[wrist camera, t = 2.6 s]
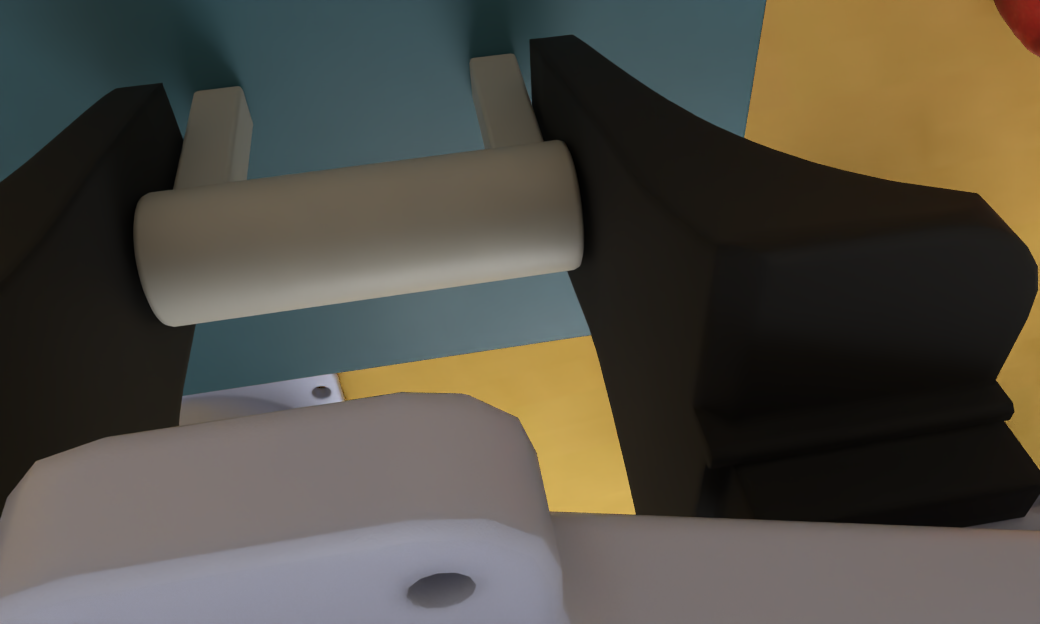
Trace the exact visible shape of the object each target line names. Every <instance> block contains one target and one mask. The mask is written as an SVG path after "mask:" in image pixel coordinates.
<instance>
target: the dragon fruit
mask: <svg viewBox="0 0 1040 624" xmlns="http://www.w3.org/2000/svg"><path fill="white" fill-rule="evenodd" d="M994 2H995V5H996V7H997V9H998V11H999V13H1000V15H1001V16H1002V18H1003V19H1004V20H1005V22H1006V23H1007V25H1008V26H1009V27H1010V29H1011V30H1012V32H1013V33H1014V35H1015V36H1016V37H1017V38H1018V39H1019V40H1020V41H1021V42H1022V44H1023V45H1024V46H1025V47H1026V48H1027V49H1028V50H1029V51H1031V52H1032V53H1033V54H1035V55H1037V56H1039V57H1040V0H994Z"/></svg>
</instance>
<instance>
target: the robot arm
mask: <svg viewBox="0 0 1040 624" xmlns="http://www.w3.org/2000/svg"><path fill="white" fill-rule="evenodd" d="M529 44H530V69H531V95H532V107H533V110H534V113H535V116H536V119H537V122H538V125H539V128H540V131H541V134H542V137H543V140H544V142H545V141H552V140H560V141H563V142H565V144H566V145H567V147H568V149H569V151H570V153H571V156H572V159H573V162H574V165H575V169H576V173H577V178H578V183H579V188H580V195H581V202H582V210H583V222H584V252H583V258H582V262H581V265H580V266H579V267H578V268H576V269H575V270H569V271H567V273H568V275H569V278H570V280H571V283H572V286H573V288H574V291H575V293H576V296H577V299H578V301H579V304H580V306H581V309H582V311H583V314H584V317H585V319H586V322H587V324H588V327H589V330H590V333H591V336H592V339H593V342H594V345H595V348H596V351H597V355H598V358H599V362H600V366H601V370H602V374H603V378H604V382H605V386H606V390H607V393H608V397H609V401H610V405H611V409H612V413H613V418H614V422H615V426H616V430H617V434H618V438H619V442H620V447H621V451H622V455H623V459H624V463H625V467H626V472H627V476H628V481H629V485H630V490H631V494H632V498H633V503H634V507H635V512H636V515H626V514H601V513H575V512H549V508H548V503H547V499H546V494H545V490H544V485H543V480H542V476H541V471H540V467H539V462H538V457H537V453H536V451H535V449H534V447H533V445H532V443H531V442H530V440H529V438H528V436H527V434H526V432H525V430H524V428H523V426H522V424H521V423H520V421H519V419H518V418H517V417H515V416H513V415H511V414H508V413H506V412H504V411H502V410H500V409H498V408H495V407H493V406H491V405H489V404H487V403H484V402H482V401H480V400H478V399H476V398H474V397H471V396H469V395H466V394H456V393H411V392H400V393H394V394H387V395H380V396H374V397H367V398H361V399H354V400H347V401H345V399H344V395H343V392H342V389H341V385H340V382H339V378H338V375H337V373H334V374H327V375H320V376H314V377H307V378H300V379H293V380H287V381H280V382H273V383H267V384H260V385H253V386H247V387H240V388H233V389H227V390H220V391H213V392H206V393H200V394H193V395H186V396H183V388H184V383H185V378H186V373H187V368H188V362H189V357H190V352H191V347H192V342H193V337H194V331H195V326H196V324H191V325H184V326H177V327H173V326H168V325H165V324H163V323H162V322H161V321H160V320H159V319H158V318H157V317H156V315H155V314H154V312H153V311H152V309H151V307H150V305H149V303H148V300H147V298H146V296H145V293H144V291H143V288H142V285H141V282H140V278H139V274H138V270H137V265H136V259H135V252H134V242H133V225H134V214H135V210H136V206H137V203H138V201H139V200H140V198H141V197H143V196H144V195H146V194H148V193H150V192H158V191H165V190H173V187H174V182H175V177H176V173H177V168H178V164H179V159H180V155H181V150H182V146H183V141H184V140H183V137H182V134H181V132H180V129H179V126H178V123H177V121H176V118H175V115H174V113H173V110H172V107H171V105H170V102H169V99H168V97H167V94H166V91H165V89H164V86H163V83H156V84H148V85H139V86H131V87H122V88H116V89H114V90H112V91H111V92H109V93H108V94H106V95H105V96H103V97H102V98H101V99H99V100H98V101H97V102H96V103H94V104H93V105H92V106H91V107H90V108H88V109H87V110H86V111H85V112H84V113H83V114H81V115H80V116H79V117H78V118H77V119H76V120H74V121H73V122H72V123H71V124H70V125H69V126H68V127H66V128H65V129H64V130H63V131H62V132H61V133H59V134H58V135H57V136H56V137H55V138H54V139H52V140H51V141H50V142H49V143H48V144H47V145H45V146H44V147H43V148H42V149H41V150H40V151H39V152H37V153H36V154H35V155H34V156H33V157H32V158H30V159H29V160H28V161H27V162H26V163H24V164H23V165H22V166H21V167H19V168H18V169H17V170H15V171H14V172H13V173H12V174H10V175H9V176H8V177H6V178H5V179H4V180H3V181H1V182H0V624H1040V470H1039V468H1038V467H1037V466H1036V464H1035V463H1034V462H1033V460H1032V459H1031V457H1030V456H1029V455H1028V453H1027V452H1026V451H1025V449H1024V448H1023V446H1022V445H1021V444H1020V442H1019V441H1018V440H1017V438H1016V437H1015V435H1014V434H1013V433H1012V431H1011V430H1010V429H1009V427H1008V426H1007V424H1006V423H1005V422H1004V421H1006V420H1010V419H1011V417H1012V415H1013V413H1014V407H1013V402H1012V401H1011V400H1010V398H1009V397H1008V396H1007V394H1006V393H1005V392H1004V390H1003V389H1002V388H1001V386H1000V385H999V384H998V382H997V381H996V378H997V376H998V374H999V372H1000V370H1001V368H1002V366H1003V364H1004V363H1005V361H1006V359H1007V357H1008V355H1009V353H1010V351H1011V349H1012V347H1013V345H1014V343H1015V341H1016V340H1017V338H1018V336H1019V334H1020V332H1021V330H1022V328H1023V326H1024V324H1025V322H1026V320H1027V318H1028V316H1029V313H1030V310H1031V308H1032V305H1033V302H1034V299H1035V296H1036V294H1037V291H1038V266H1037V264H1036V262H1035V260H1034V258H1033V256H1032V254H1031V252H1030V251H1029V249H1028V247H1027V246H1026V245H1025V243H1024V242H1023V241H1022V240H1021V239H1020V238H1019V237H1018V236H1017V235H1016V234H1015V233H1014V232H1013V231H1012V229H1011V228H1010V227H1009V226H1008V225H1007V224H1006V223H1005V222H1004V221H1003V220H1002V219H1001V218H1000V217H999V215H998V214H997V213H996V212H995V211H994V210H993V209H992V208H991V207H990V206H989V205H988V204H987V202H986V201H985V200H984V199H983V198H982V197H981V196H980V195H979V194H977V193H972V192H965V191H958V190H951V189H943V188H936V187H929V186H922V185H915V184H908V183H901V182H895V181H890V180H885V179H880V178H876V177H871V176H866V175H862V174H857V173H853V172H848V171H844V170H840V169H836V168H832V167H829V166H825V165H821V164H817V163H814V162H810V161H807V160H804V159H801V158H798V157H795V156H792V155H789V154H786V153H783V152H780V151H777V150H774V149H771V148H768V147H766V146H763V145H760V144H758V143H755V142H752V141H750V140H748V139H745V138H743V137H741V136H738V135H736V134H734V133H732V132H729V131H727V130H725V129H723V128H720V127H718V126H716V125H714V124H712V123H710V122H708V121H706V120H704V119H702V118H700V117H698V116H696V115H694V114H693V113H691V112H689V111H687V110H685V109H684V108H682V107H680V106H678V105H677V104H675V103H673V102H671V101H670V100H668V99H666V98H665V97H663V96H661V95H660V94H658V93H657V92H655V91H653V90H652V89H650V88H649V87H647V86H646V85H644V84H643V83H641V82H640V81H638V80H637V79H635V78H634V77H632V76H631V75H629V74H628V73H627V72H625V71H624V70H622V69H621V68H620V67H618V66H617V65H615V64H614V63H613V62H611V61H610V60H608V59H607V58H606V57H604V56H603V55H602V54H600V53H599V52H597V51H596V50H595V49H593V48H592V47H591V46H589V45H588V44H586V43H585V42H584V41H582V40H581V39H579V38H578V37H576V36H574V35H573V34H571V35H563V36H554V37H546V38H537V39H529ZM319 386H325V388H317V387H319Z"/></svg>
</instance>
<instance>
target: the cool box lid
mask: <svg viewBox="0 0 1040 624" xmlns="http://www.w3.org/2000/svg"><path fill="white" fill-rule="evenodd" d="M765 5H766V0H0V182H1V181H3V180H4V179H5V178H6V177H8V176H9V175H10V174H12V173H13V172H14V171H15V170H17V169H18V168H19V167H21V166H22V165H23V164H24V163H26V162H27V161H28V160H29V159H30V158H32V157H33V156H34V155H35V154H36V153H37V152H39V151H40V150H41V149H42V148H43V147H44V146H45V145H47V144H48V143H49V142H50V141H51V140H52V139H54V138H55V137H56V136H57V135H58V134H59V133H61V132H62V131H63V130H64V129H65V128H66V127H68V126H69V125H70V124H71V123H72V122H73V121H74V120H76V119H77V118H78V117H79V116H80V115H81V114H83V113H84V112H85V111H86V110H87V109H88V108H90V107H91V106H92V105H93V104H94V103H96V102H97V101H98V100H99V99H101V98H102V97H103V96H105V95H106V94H108V93H109V92H111V91H112V90H114V89H116V88H122V87H131V86H139V85H148V84H156V83H163V86H164V89H165V91H166V94H167V97H168V99H169V102H170V105H171V107H172V110H173V113H174V115H175V118H176V121H177V123H178V126H179V129H180V132H181V134H182V137H183V140H184V141H183V146H182V150H181V155H180V159H179V164H178V168H177V173H176V177H175V182H174V187H173V190H165V191H158V192H150V193H148V194H146V195H144V196H143V197H141V198H140V200H139V201H138V203H137V206H136V210H135V214H134V225H133V242H134V252H135V259H136V265H137V270H138V274H139V278H140V282H141V285H142V288H143V291H144V293H145V296H146V298H147V300H148V303H149V305H150V307H151V309H152V311H153V312H154V314H155V315H156V317H157V318H158V319H159V320H160V321H161V322H162V323H163V324H165V325H168V326H173V327H177V326H184V325H191V324H196V326H195V331H194V337H193V342H192V347H191V352H190V357H189V362H188V368H187V373H186V378H185V383H184V388H183V396H186V395H193V394H200V393H206V392H213V391H220V390H227V389H233V388H240V387H247V386H253V385H260V384H267V383H273V382H280V381H287V380H293V379H300V378H307V377H314V376H320V375H327V374H334V373H340V372H347V371H354V370H360V369H367V368H374V367H380V366H387V365H394V364H400V363H407V362H414V361H421V360H427V359H434V358H441V357H447V356H454V355H461V354H467V353H474V352H481V351H487V350H494V349H501V348H507V347H514V346H521V345H528V344H534V343H541V342H548V341H554V340H561V339H568V338H574V337H581V336H588V335H591V333H590V330H589V327H588V324H587V322H586V319H585V317H584V314H583V311H582V309H581V306H580V304H579V301H578V299H577V296H576V293H575V291H574V288H573V286H572V283H571V280H570V278H569V275H568V273H567V271H569V270H575V269H576V268H578V267H579V266H580V265H581V262H582V258H583V252H584V222H583V210H582V202H581V195H580V188H579V183H578V178H577V173H576V169H575V165H574V162H573V159H572V156H571V153H570V151H569V149H568V147H567V145H566V144H565V142H563V141H560V140H552V141H545V142H544V140H543V137H542V134H541V131H540V128H539V125H538V122H537V119H536V116H535V113H534V110H533V107H532V95H531V69H530V44H529V39H537V38H546V37H554V36H563V35H571V34H573V35H574V36H576V37H578V38H579V39H581V40H582V41H584V42H585V43H586V44H588V45H589V46H591V47H592V48H593V49H595V50H596V51H597V52H599V53H600V54H602V55H603V56H604V57H606V58H607V59H608V60H610V61H611V62H613V63H614V64H615V65H617V66H618V67H620V68H621V69H622V70H624V71H625V72H627V73H628V74H629V75H631V76H632V77H634V78H635V79H637V80H638V81H640V82H641V83H643V84H644V85H646V86H647V87H649V88H650V89H652V90H653V91H655V92H657V93H658V94H660V95H661V96H663V97H665V98H666V99H668V100H670V101H671V102H673V103H675V104H677V105H678V106H680V107H682V108H684V109H685V110H687V111H689V112H691V113H693V114H694V115H696V116H698V117H700V118H702V119H704V120H706V121H708V122H710V123H712V124H714V125H716V126H718V127H720V128H723V129H725V130H727V131H729V132H732V133H734V134H736V135H738V136H741V137H743V138H744V135H745V129H746V123H747V117H748V110H749V104H750V98H751V92H752V86H753V79H754V73H755V67H756V61H757V55H758V49H759V42H760V36H761V30H762V24H763V18H764V11H765Z"/></svg>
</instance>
